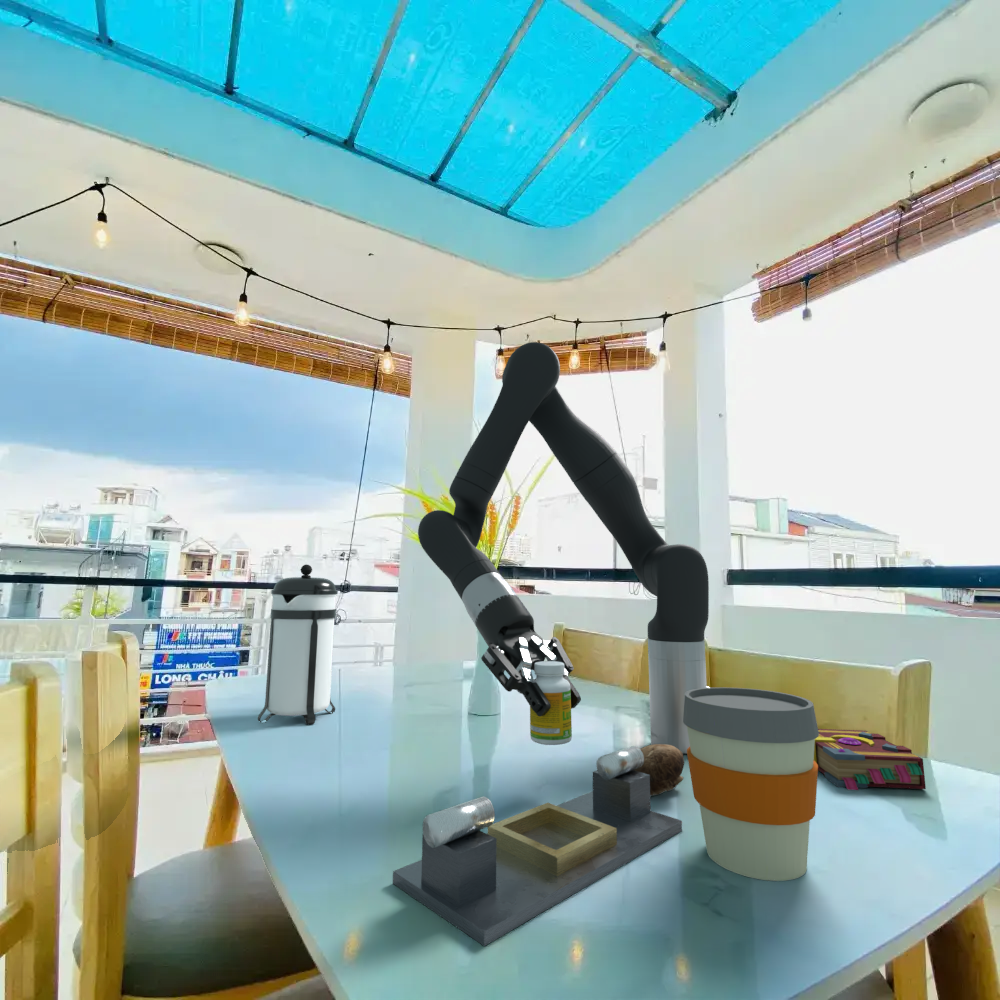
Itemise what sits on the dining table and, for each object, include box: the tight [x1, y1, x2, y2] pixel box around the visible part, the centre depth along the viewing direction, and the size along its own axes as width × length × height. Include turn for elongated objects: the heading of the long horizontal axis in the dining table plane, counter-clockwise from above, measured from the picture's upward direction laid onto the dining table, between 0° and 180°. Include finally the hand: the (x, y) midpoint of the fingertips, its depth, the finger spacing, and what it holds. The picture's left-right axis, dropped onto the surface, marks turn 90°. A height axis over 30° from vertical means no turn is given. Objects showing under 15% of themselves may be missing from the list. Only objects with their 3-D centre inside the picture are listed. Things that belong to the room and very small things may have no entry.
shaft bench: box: [392, 745, 683, 947], centre depth 56 cm, size 30×12×7 cm, turn 134°
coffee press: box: [257, 564, 339, 726], centre depth 115 cm, size 17×16×30 cm
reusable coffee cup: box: [683, 686, 819, 882], centre depth 56 cm, size 12×13×15 cm
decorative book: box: [814, 728, 927, 791], centre depth 82 cm, size 11×16×5 cm
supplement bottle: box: [529, 660, 573, 746], centre depth 74 cm, size 5×5×10 cm
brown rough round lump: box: [634, 744, 685, 797], centre depth 73 cm, size 8×8×6 cm
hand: (561, 707), depth 73 cm, fingers closed on supplement bottle, 5 cm apart
